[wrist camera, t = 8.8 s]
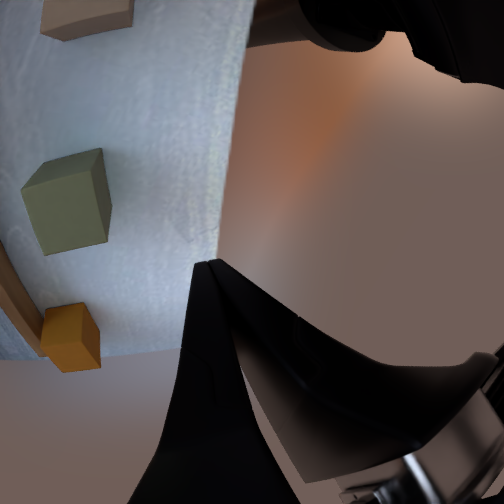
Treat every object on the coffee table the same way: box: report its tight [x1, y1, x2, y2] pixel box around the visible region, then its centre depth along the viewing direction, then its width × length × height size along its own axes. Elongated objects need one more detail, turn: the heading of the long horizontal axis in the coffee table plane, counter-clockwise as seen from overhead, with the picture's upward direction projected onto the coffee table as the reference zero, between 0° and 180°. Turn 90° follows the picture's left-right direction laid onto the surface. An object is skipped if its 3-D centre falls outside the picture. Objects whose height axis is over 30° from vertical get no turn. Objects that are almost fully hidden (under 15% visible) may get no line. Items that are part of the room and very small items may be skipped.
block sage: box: [21, 148, 112, 256], centre depth 12 cm, size 4×4×4 cm
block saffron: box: [40, 302, 101, 373], centre depth 18 cm, size 4×4×4 cm
